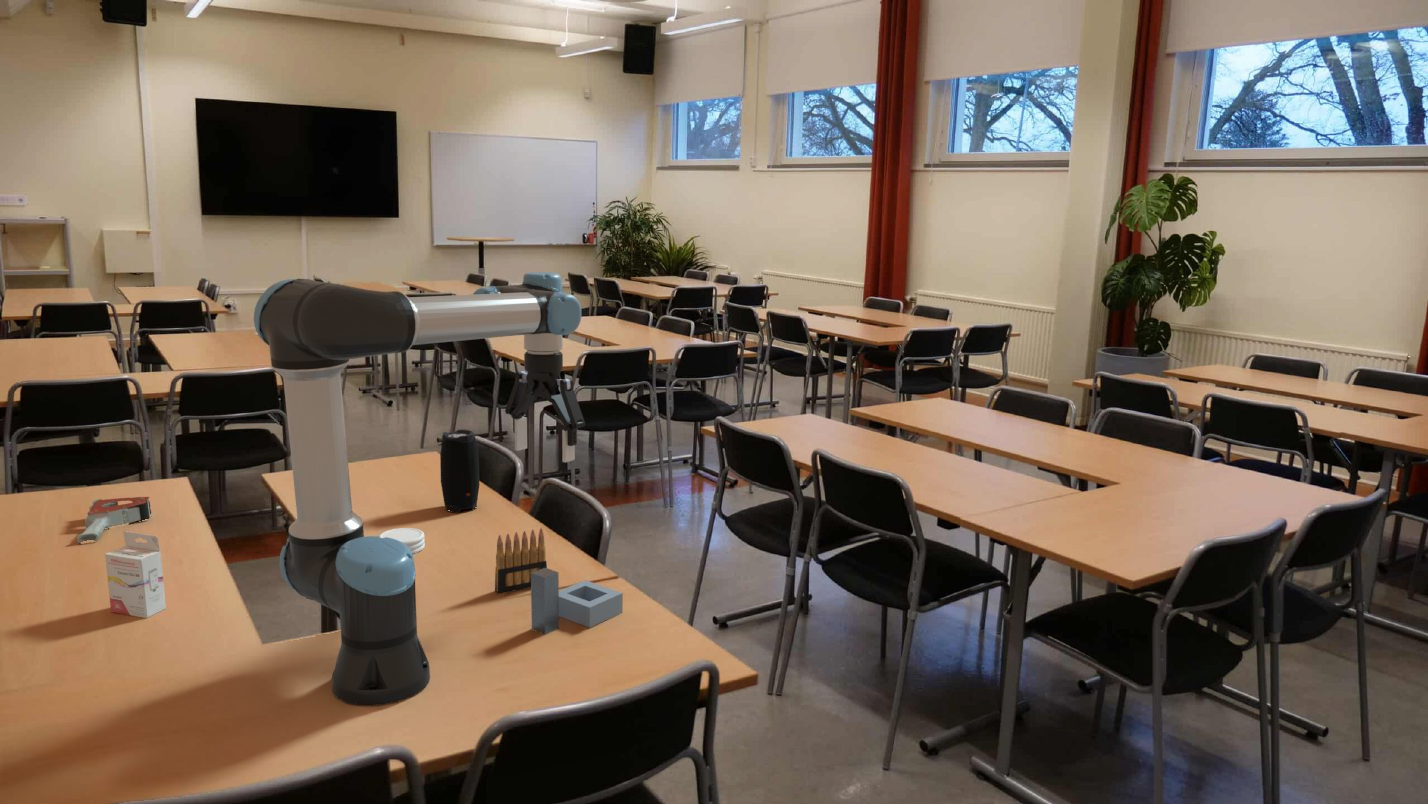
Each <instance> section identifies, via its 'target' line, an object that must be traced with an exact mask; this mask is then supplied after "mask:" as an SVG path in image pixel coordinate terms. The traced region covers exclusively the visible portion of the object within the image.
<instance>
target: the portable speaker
mask: <svg viewBox="0 0 1428 804" xmlns="http://www.w3.org/2000/svg"><path fill="white" fill-rule="evenodd" d="M441 437H442V438H441V439H442V441H441V448H440V456H439V457H440V459H439V460H440V485H441V492H442V496H443V497H442V498H443V504H444V507H445V509H446V511H447V510H450V511H452V512H451V513H460V512H459V511H461V510H466V509H470V510H471V509H474V508H475V507H477V506H478V505H477V504H478V500H479V499H478V498H479V489H480V460H479V450H478V449H479V448H478V445H477V441H476V435H475V433H474V432H473V431H472V430H471V429H458V430H456V431H450V432H449V431H448V432H446V431H445V432H443V433H442V435H441ZM474 510H475V509H474Z"/></svg>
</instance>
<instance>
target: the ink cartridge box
mask: <svg viewBox="0 0 1428 804" xmlns="http://www.w3.org/2000/svg"><path fill="white" fill-rule="evenodd" d="M122 533H123V537H124V543H125V545H124V546H121V547H119V548H117V549H114V550H112V551H109V552H106V553H105V554H104V556H105V566H106V574H107V575H106V576H107V583H108V585H107V586H108V594H109V595H108V596H109V605H110V612H111V613H116V614H120V615H121V614H122V615H127V616H132V617H137V618H141V619H142V618H144V619H147V618H150V617H152V616H154V615H155V614H158V613H159V612H161V611H164V610H165V609H166V608H167V607H166V606H167V605H166V595H165V585H164V571H163V562H162V552H161V551H160V544H159V538H158V536H157V535H153V534H145V533H141V532H134V531H127V530H125V531H123V532H122ZM136 539H138V540H139V539H142V540H144V541H146V542H143V541H137V540H136Z"/></svg>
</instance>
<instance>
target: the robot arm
mask: <svg viewBox="0 0 1428 804" xmlns="http://www.w3.org/2000/svg"><path fill="white" fill-rule="evenodd" d="M581 320H582V306H581V304H580V302H579V300H578V299H577V297H576V296H574V295H573V294H570V293H567V292H564V291H563V282H562V277H561V275H560V274H558V273H557V272H556V273H555V272H547V271H545V272H543V271H542V272H541V271H537V272H536V271H534V272H526V273H524V275H523V280H522V283H520V284H517V285H516V284H514V285H511V284H510V285H495V286H494V285H489V286H484V287H479V288H477V289H476V290H475V291H474V292H473V294H459V295H458V294H457V295H455V294H454V295H436V296H435V295H434V296H433V295H432V296H412V297H411V296H407V294H405V293H403V292H401V291H399V290H397V291H395V290H394V291H381V290H373V289H365V288H361V287H356V286H349V285H346V284H340V283H331V282H330V283H329V282H324V281H318V280H313V279H310V278H294V279H293V278H290V279H288V278H287V279H282V280H280V281H277V282H275V283H273V284H272V285H270V286H269V287H268V288H267V289H266V290H265V291H264V292H263V293H262V294H261V295H260V297H259V298H258V300H257V301H256V304H255V307H254V312H253V323H254V329H255V331H256V332H257V335H258V336H259V338H260V339H261V340H262V341H263V342H264V343H265V344H266V345H268V346H269V353H270V354H269V355H270V363H271V368H272V369H273V370H274V371H275V372H276V373H278V374H279V375H280V376H281V377H282V379H283V389H284V396H285V407H286V408H285V409H286V417H287V426H288V429H287V430H288V438H289V449H290V455H291V456H290V458H291V467H292V477H293V487H294V497H295V506H296V507H295V509H296V517H297V518H295V520H293V522H292V523H291V524H290V525H289V527H288V537H287V539H286V543H285V545H283V546H282V548H281V550H280V555H279V567H280V573H281V575H282V578H283V580H284V582H285V583H286V584H287V585H288V586H289V587H290V589H292V590H294V591H295V592H296V593H297V594H298V595H300V596H302V597H304V598H306V599H308V600H310V601H313V602H314V601H315V602H316V603H318V604H320V605H322V606H324V607H326V608H328V609H330V610H333V611H334V612H336V613H338V615H339V623H340V637H341V642H340V643H341V644H340V648H339V651H338V654H337V658H336V662H335V666H334V670H333V671H332V674H331V684H332V685H331V687H332V690H331V691H332V693H333V695H334V696H335V698H336V699H338V700H339V701H342V702H344V703H347V704H350V705H355V706H367V707H368V706H371V707H372V706H382V705H390V704H394V703H397V702H401V701H403V700H407V699H409V698H411V697H413V696H415V695H417V694H419V693H420V692H421V691H423V690H424V689H425V688H426V687H427V685H428V684H429V682H430V679H431V671H430V670H431V669H430V668H431V667H430V663H429V660H428V657H427V655H426V653H425V650H424V648H423V645H422V643H421V641H420V638H419V635H418V629H417V628H418V623H417V622H418V621H417V619H418V617H417V595H416V592H417V591H416V575H417V571H416V566H415V561H414V560H415V559H414V554H412V552H411V550H410V549H409V547H408V546H406V545H405V544H404V543H402V542H400V541H398V540H396V539H392V538H388V537H385V538H380V537H379V535H378V536H374V535H373V536H371V535H370V536H369V535H368V536H365V531H364V522H363V521H364V520H363V518H362V517H361V516H359V515H358V514H357V513H356V512H354V510H353V505H352V495H351V494H352V493H351V483H350V469H349V462H348V461H349V460H348V449H347V447H348V446H347V437H346V435H347V433H346V425H345V423H346V422H345V413H344V403H343V402H344V399H343V391H342V378H341V374H342V371H344V369H345V368H346V367H347V366H348V365H349V363H350V360H354V359H355V360H356V359H362V358H368V357H369V358H370V357H377V356H382V355H390V354H401V353H405V352H408V351H409V350H410V349H412V347H413V346H415V345H416V346H417V345H427V344H435V343H436V344H439V343H448V342H458V341H459V342H460V341H471V340H480V339H481V340H483V339H493V338H494V339H495V338H503V337H514V336H523V349H524V350H526V352H525V353H524V354H523V355H524V356H523V358H524V362H523V363H524V367H523V368H524V370H520V371H517V372H515V376H514V384H513V386H512V390H511V392H510V395H509V398H508V401H507V404H506V407H505V410H504V412H505V414H506V415H510V416H511V418H512V425H513V426H512V429H513V430H512V431H513V433H514V450H515V451H517V452H518V451H523V450H526V449H528V417H526V416H527V415H526V413H527V411H528V410H529V409H530V407H531V406H532V404H533V402H534V401H535V400H536V398H542V399H544V400H547V401H548V402H549V403H551V405H552V406H553V408H554V410H555V413H556V414H557V416H558V418H559V419H560V421H561V423H562V425H563V426H564V428H563V429H562V430H561V431H562V432H561V433H562V436H561V439H562V443H561V445H562V453H561V454H562V463H569V462H572V461H575V460H576V456H575V455H576V445H577V443H578V441H577V440H578V438H577V436H578V432H577V431H578V429H579V428H582V427H585V426H586V422H585V419H584V416H583V413H582V410H581V408H580V405H579V402H578V398H577V396H576V392H575V390H574V381H573V379H572V377H571V378H565V379H562V378H561V371H562V370H563V368H564V367H563V364H564V362H563V360H564V359H563V358H564V357H563V354H564V353H563V352H562V351H561V350H563V336H567V335H570V334H573V333H574V332H575V331H576V330H577V329H578V328H579V325H580V324H581Z"/></svg>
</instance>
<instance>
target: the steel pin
mask: <svg viewBox="0 0 1428 804" xmlns="http://www.w3.org/2000/svg"><path fill="white" fill-rule="evenodd" d="M559 582H560V581H559V572H558V571H555V570H552V569H550V568H548V567H547V568H543V569H540V570H538V571H535V572H532V573H531V588H530V589H531V590H530V595H531V597H530V600H531V601H530V603H531V604H530V605H531V606H530V607H531V630H532V629H534V630H533V631H535V630H536V631H535V632H537V631H538V632H537V633H540V632H541V633H540V634H542V633H543V634H542V635H547V634H549V632H550V633H551V632H554V631H555V629H556V630H558V629H560V620H559V619H560V616H559V591H560V590H559V589H560V586H559Z"/></svg>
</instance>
